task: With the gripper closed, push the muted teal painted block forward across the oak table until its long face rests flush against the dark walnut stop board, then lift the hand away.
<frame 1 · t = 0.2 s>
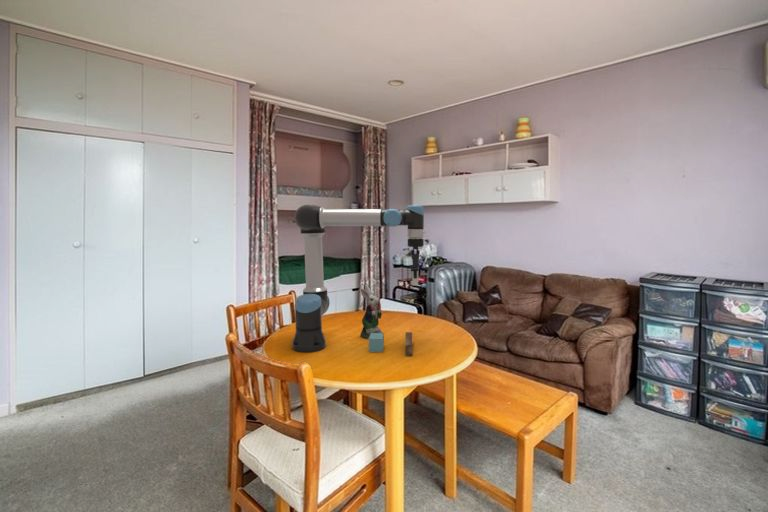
hand: (415, 282, 188), 28 cm above the table, tool pointing down, fingers open, 13 cm apart
figurine: (371, 336, 197), on the table
board: (408, 349, 177), on the table
block: (376, 348, 178), on the table
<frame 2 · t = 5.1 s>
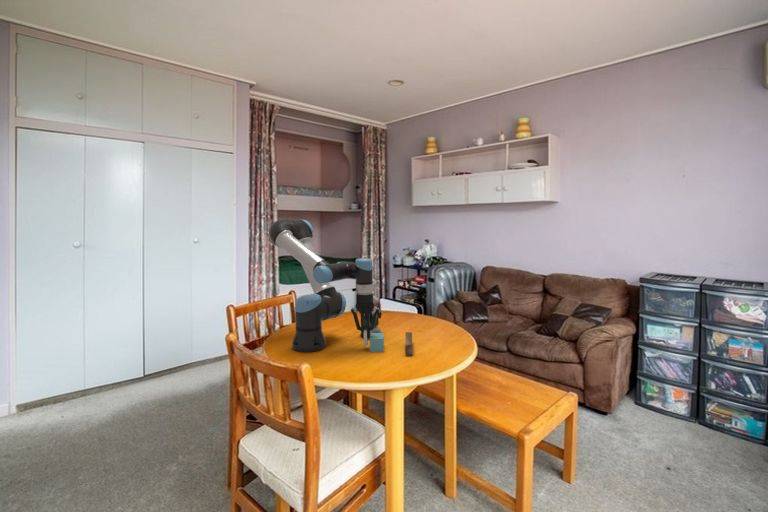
hand: (365, 345, 178), 2 cm above the table, tool pointing down, fingers closed
block: (377, 348, 178), on the table, touching gripper
everything else where it was.
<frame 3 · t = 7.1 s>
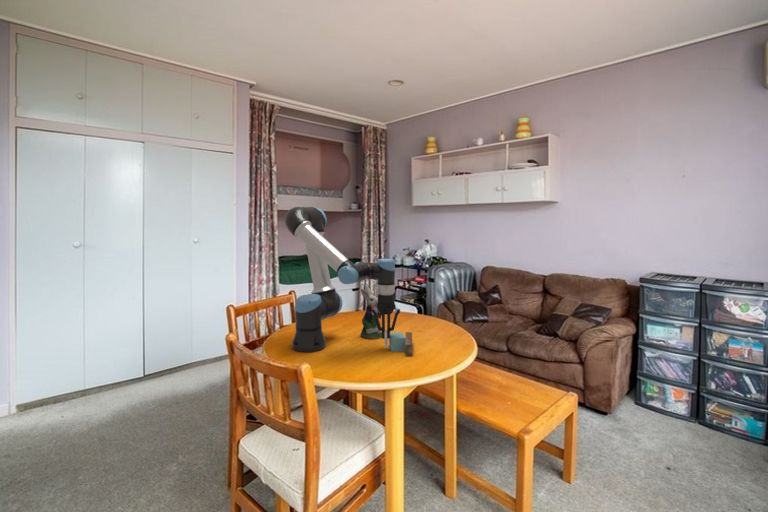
hand: (385, 345, 177), 1 cm above the table, tool pointing down, fingers closed
block: (397, 348, 178), on the table, touching board, gripper
everything else where it was.
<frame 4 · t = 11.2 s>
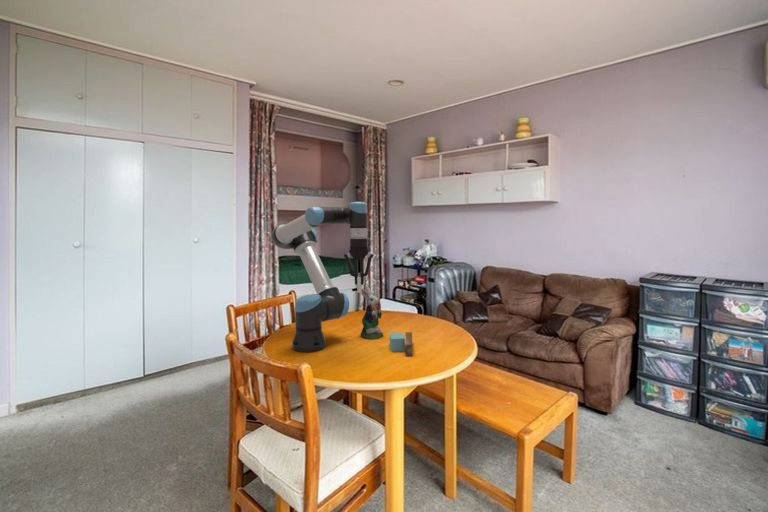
hand: (359, 291, 173), 26 cm above the table, tool pointing down, fingers closed
block: (397, 348, 178), on the table
everything else where it was.
at the end: block 0.9 cm from the target spot on the table beside the board, on the table; block tilted 0° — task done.
